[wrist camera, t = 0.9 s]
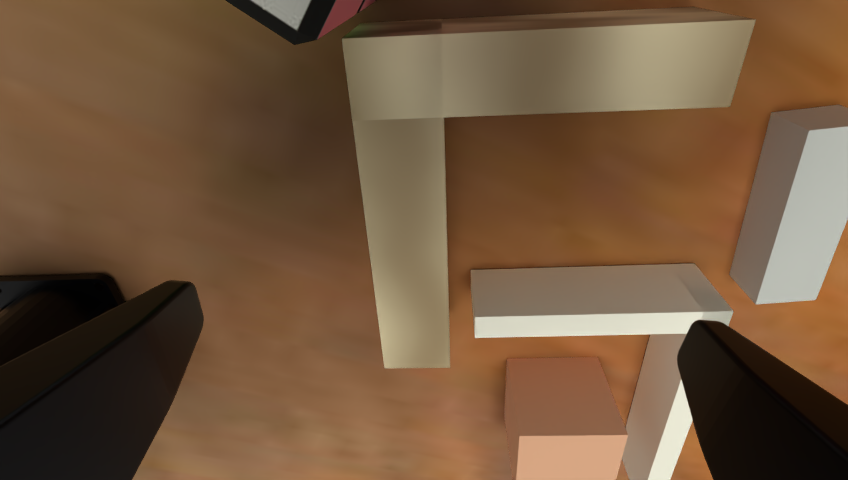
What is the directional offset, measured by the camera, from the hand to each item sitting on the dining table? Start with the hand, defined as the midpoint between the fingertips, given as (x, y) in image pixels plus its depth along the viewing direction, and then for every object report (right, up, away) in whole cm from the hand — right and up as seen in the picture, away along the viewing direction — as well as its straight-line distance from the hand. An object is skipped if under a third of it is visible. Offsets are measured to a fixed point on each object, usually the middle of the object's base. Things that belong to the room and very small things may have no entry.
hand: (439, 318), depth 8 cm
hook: (+4, +4, +12) cm, 13 cm away
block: (+7, -7, +19) cm, 21 cm away
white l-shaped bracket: (+7, -6, +18) cm, 20 cm away
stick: (+15, +3, +12) cm, 20 cm away
